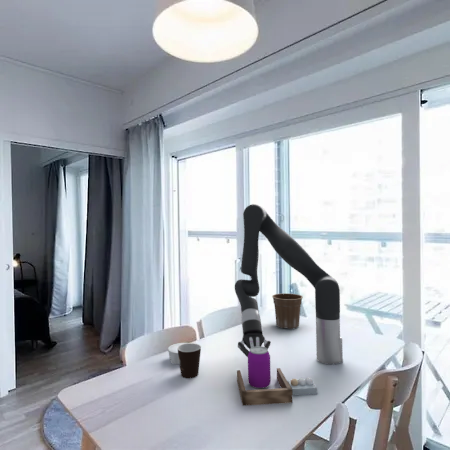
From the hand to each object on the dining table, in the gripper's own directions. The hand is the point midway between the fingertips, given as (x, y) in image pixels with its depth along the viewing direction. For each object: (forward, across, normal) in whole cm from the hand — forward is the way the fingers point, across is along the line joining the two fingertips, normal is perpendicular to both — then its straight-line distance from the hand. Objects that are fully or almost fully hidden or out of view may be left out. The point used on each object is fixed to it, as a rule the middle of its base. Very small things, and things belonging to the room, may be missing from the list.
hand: (257, 367), depth 116 cm
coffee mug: (-2, -24, +8) cm, 25 cm away
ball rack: (+9, +13, -4) cm, 17 cm away
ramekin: (-10, -28, +17) cm, 34 cm away
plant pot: (-38, +27, +44) cm, 65 cm away
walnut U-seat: (+9, 0, -3) cm, 9 cm away
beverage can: (+6, 0, 0) cm, 6 cm away
